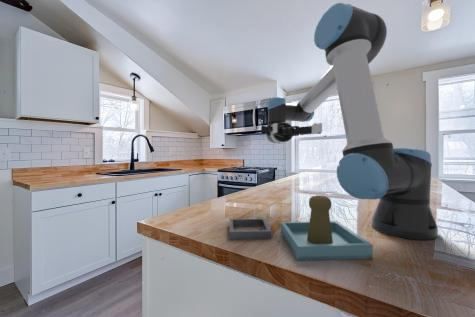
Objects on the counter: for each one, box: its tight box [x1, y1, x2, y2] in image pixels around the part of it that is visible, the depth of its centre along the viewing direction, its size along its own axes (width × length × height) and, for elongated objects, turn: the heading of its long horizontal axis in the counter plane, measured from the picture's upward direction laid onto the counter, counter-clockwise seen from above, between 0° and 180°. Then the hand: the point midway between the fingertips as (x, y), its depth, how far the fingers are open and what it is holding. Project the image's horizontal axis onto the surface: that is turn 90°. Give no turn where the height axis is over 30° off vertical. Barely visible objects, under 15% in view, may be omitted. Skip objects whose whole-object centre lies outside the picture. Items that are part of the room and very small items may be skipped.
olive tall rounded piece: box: [307, 195, 333, 244], centre depth 56 cm, size 6×6×11 cm
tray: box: [280, 220, 374, 262], centre depth 55 cm, size 16×16×3 cm
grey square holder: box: [229, 217, 273, 241], centre depth 64 cm, size 11×11×2 cm
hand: (298, 127), depth 67 cm, fingers open, 13 cm apart
